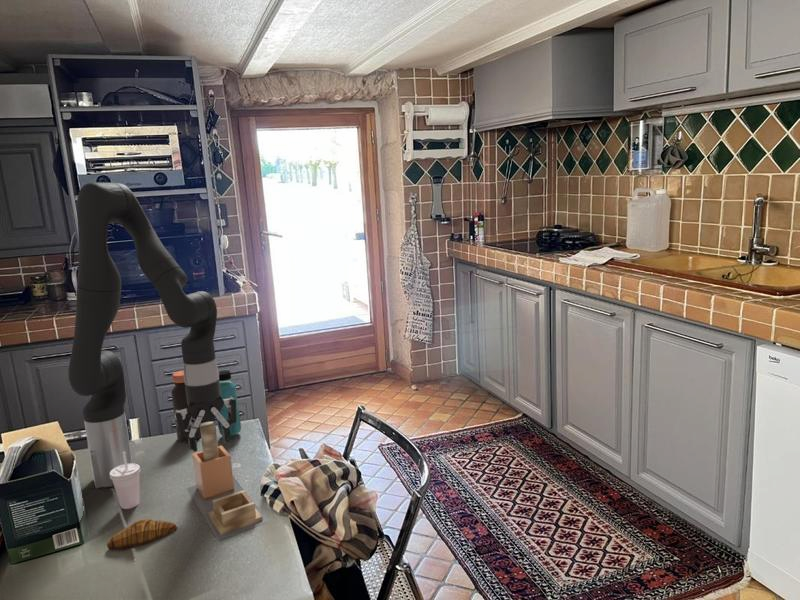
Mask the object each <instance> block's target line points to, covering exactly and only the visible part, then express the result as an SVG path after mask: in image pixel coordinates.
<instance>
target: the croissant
mask: <svg viewBox="0 0 800 600" xmlns="http://www.w3.org/2000/svg"><path fill="white" fill-rule="evenodd" d="M177 529H178V527H177V525H176V524H175V523H174V522H171V521H164V520H154V519H150V518H144V519H139V520H137V521H135V522H133V523H131V524H130V525H129V526H127V527H125V528H124V529H122V530H120V531H119V532H117V533H115V534H114V535H113V536H112V537H111V538H109V540H107V544H106V546H107V549H108V550H110V551H119V550H120V551H121V550H127V549H133V548H136V547H135V546H140V545H144V544H148V543H151V542H153V541H156V540H158V539H161V538H164V537H166V536H168V535H170V534H172V533H174V532H176V531H177Z"/></svg>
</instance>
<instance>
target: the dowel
mask: <svg viewBox="0 0 800 600" xmlns="http://www.w3.org/2000/svg"><path fill="white" fill-rule="evenodd" d="M200 424H201V425H200V431H201V437H200V438H201V446H202V451H203V454H204V462H206V461H209V460H213V459H216V458H219V451H218V446H219V445H218V436H217V428H216V422H214V421H206V422H204V423H200Z"/></svg>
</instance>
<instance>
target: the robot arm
mask: <svg viewBox="0 0 800 600" xmlns="http://www.w3.org/2000/svg"><path fill="white" fill-rule="evenodd" d="M145 213H146V212H145V211H144V209H143V207H142V206H141V204H140V202H139V201H138V199H137V197H136V196H135V194H134V192H133V191H132V190H131V189H130V188H129V187H128V186H126V185H125V184H123V183H121V182H120V183H119V182H87V183H86V184H84V185H82V187H81V188H80V190H79V192H78V195H77V200H76V214H77V218H76V219H77V231H78V233H77V235H78V269H77V270H78V273H77V282H76V296H75V297H76V298H75V299H76V301H75V302H76V305H75V306H76V308H75V309H76V310H75V320H74V321H75V323H74V332H73V341H72V342H73V343H72V347H71V352H70V359H69V364H68V381H69V382H68V383H69V384H70V386H71V388H72V389H73V391H74V393H76V394H77V395H79V396H82V397H90V396H91V397H90V399H89V400H88V402H87V403H86V404H85V405H84V407H83V409H82V417H83V423H84V428H85V429H84V430H85V434H86V435H85V436H86V440H87V449H88V451H87V452H88V455H89V462H90V468H91V474H92V480H93V482H94V486H95V489H100V488H109V487H110V488H111V487H114V484H113V481H112V479H110V471H111V470H112V469H114V468H116V467H118V466H120V465H124V457H123V452H126V459H127V464H129V463H133V457H132V451H131V444H130V437H129V429H128V425H127V423H128V422H127V418H126V411H125V403H126V399H127V394H126V383H125V374H124V367H123V365H122V361H121V359H120V358H119V356H118V355H116V354H115V352H112V351H110V350H106V349H105V350H102V349H103V344H104V341H105V338H106V336H107V333H108V331H109V330H110V328H111V326H112V324H113V322H114V321H115V318H116V316H117V314H118V311H119V308H120V304H121V295H122V277H121V274H120V272H119V270H118V267H117V266H116V265H117V264H116V263H115V262H114V260H113V258H112V256H111V254H110V251H109V248H108V247H109V246H108V228H109V225H110V224H119V225H120V226H121V227H122V228H124V229H125V230H126V232H127V233H128V234H129V236H130V237H131V238H132V240H133V243H134V248H135V253H136V259H137V260H136V261H137V263H138V264H139V267H140V270H141V272H142V273H143V274H144V275H145V277H146V278H147V279H148V280H149V282H150V283H151V284H152V286H153V287H154V288H155V289H156V290H157V292H158V294H159V297H160V300H161V302H162V305H163V307H164V309H165V312H166V314H167V315H168V316H167V317H169V319H170V320H171V322H172V323H173V324H175V325H176V326H178V327H180V328H183V329H185V328H190V330H189V332H188V333H187V334H186V336H184V337H183V338H182V340H181V342H180V343H181V344H180V348H181V355H182V362H183V363H182V364H183V368H182V369H183V370H182V371H183V373H184V381H185V388H186V396H187V407H186V409H183V410H175V411H174V410H173V416H174V422H175V421H176V424H175V427H176V426H177V430H178V433H179V434H180V436H181V437H188V442H187V444H188V447H189V449H190V450H191V451H192V452H193V453H197V452H198V446H197V440H196V437H195V432H196V430H197V429H198V427H199V425H200V424H203V423H205V422H213V421H215V420H217V419H218V420H219V421H220V423H221V424H222V426H221V430H222V435H221V437H222V438H221V439H222V442H223V443H224V444H226V443H229V440H230V439H231V435H230V431H229V426H230V425H231V424H233V423H236V421H237V419H236V400H235V399H234V398H233V397H229V398H228V399H222V397H221V390H220V382H221V381H219V367H218V364H217V359H216V353H215V352H216V350H215V344H214V339H215V332H216V328H217V327H216V325H217V320H218V319H217V317H218V316H217V315H218V308H217V303H216V301H215V299H214V298H213V296H212V295H211V294H210V293H208V292H207V291H202V290H199V291H195V292H191V293H188V294H186V293H185V292H184V290H183V288H184V287H185V286H186V285H187V283H188V276H187V275H186V273H185V271H184V270H183V269H182V267H181V266H180V265H179V264H178V263H177V261H176V260H175V259H174V258H173V256H172V255H171V253H170V252H169V251H168V250H167V249H166V247H165V246H164V244H163V242H162V241H161V239H160V238H159V235H158V234H157V233H156V230H155V229H154V228H153V225H152V224H151V221H150V220H149V219H148V217H147V215H146V214H145ZM224 404H225V405H226V407H227V408H228V418H227V419H226V420H225V418H224V417H223V416H222V415H221V414H220V411H221V409H222V407H223V405H224ZM187 413H188V414H189V415H190V416H191V419H190V422H189V426H188V429H187V430H185V428H184V423H183V420H184V419H185V415H186V414H187Z"/></svg>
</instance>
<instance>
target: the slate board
mask: <svg viewBox="0 0 800 600" xmlns="http://www.w3.org/2000/svg"><path fill="white" fill-rule="evenodd" d="M233 482H234V491H232V492H229V493H226V494H223V495H220V496H217V497H214V498H211V499H208V500H204V499H203V497H202V496H201V494H200V492H199V491H198V489H197V486H196V485H192V486H190V487H187V488H186V489H187V491H188V493H189V494H190V496H191V498H192V500H193V501H194V503H195V505H196V506H197V508H198V509H199V511H200V513H201V515H202V517H203V518H204V520H205V521H206V523H207V524H208V526H209V528H210V530H211V531H212V533H213V535H214V536H215V538H216V539H217V541H218V542H219V541H222V540H224V539H227V538H230V537H232V536H236V535H237V534H240V533H243V532H246V531H248V530H251V529H254V528H257V527H259V526H261V525H265V524H266V523H269V522H270V520H269V519H268V517H267V516H266V515H265V514H264V513H263V512H262V511H261V509H260V508H259V507H258V505H257V504H256V503H255V502H254V500H253V499H252V498H251V496H250V495H249V494H248V493H247V491H245V489H244V488H243V486H242V485H241V484H240V483H239V481H238V480H237V479H236V478H235V476H234V475H233ZM243 490H244V491H245V492H246V493H247V495H248V496H249V497H250V498H251V500H252V501H253V502H254V503H255V508H256V509H257V511H258V512H259V513H260V514H261V516H262V520H261V521H258V522H255V523H253V524H250V525H247V526H245V527H242V528H239V529H236V530H234V531H231V532H228V533H226V534H223V535H220V533H219V531H218V530H217V528H216V527H215V525H214V523H213V522H212V520H211V518H210V517H209V513H208V512H211V511H214V507H213V500H216V499H219V498H222V497H225V496H228V495H231V494H234V493H237V492H240V491H243Z"/></svg>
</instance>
